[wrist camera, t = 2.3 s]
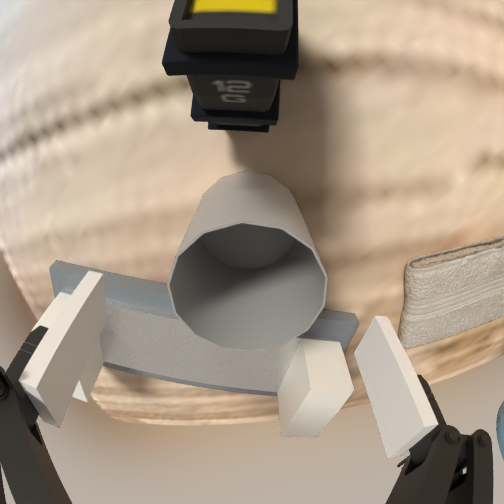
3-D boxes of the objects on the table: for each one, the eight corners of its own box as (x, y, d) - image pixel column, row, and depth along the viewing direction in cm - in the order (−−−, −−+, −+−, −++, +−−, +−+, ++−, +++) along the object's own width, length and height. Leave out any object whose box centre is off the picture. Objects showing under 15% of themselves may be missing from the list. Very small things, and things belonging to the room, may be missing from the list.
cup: (298, 264, 26) (320, 347, 17) (204, 269, 26) (185, 353, 18) (299, 168, 22) (331, 216, 13) (191, 174, 22) (153, 226, 14)
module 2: (339, 342, 28) (354, 390, 22) (310, 394, 32) (317, 437, 27) (301, 338, 27) (310, 388, 22) (277, 392, 32) (280, 436, 26)
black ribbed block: (210, 169, 21) (150, 40, 6) (226, 27, 20) (218, -116, 5) (263, 172, 21) (306, 44, 6) (271, 29, 20) (294, -113, 5)
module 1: (93, 300, 25) (67, 344, 20) (104, 361, 29) (87, 402, 24) (60, 291, 25) (31, 331, 20) (74, 352, 29) (55, 390, 24)
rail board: (354, 313, 29) (358, 323, 28) (313, 389, 35) (315, 398, 34) (56, 260, 26) (49, 267, 25) (74, 346, 32) (70, 354, 31)
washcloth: (499, 303, 30) (511, 317, 28) (393, 341, 32) (401, 359, 29) (518, 226, 25) (533, 238, 22) (400, 256, 27) (413, 273, 24)
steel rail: (338, 336, 28) (339, 342, 28) (309, 388, 33) (310, 394, 32) (63, 287, 26) (60, 291, 25) (77, 347, 30) (74, 352, 29)
